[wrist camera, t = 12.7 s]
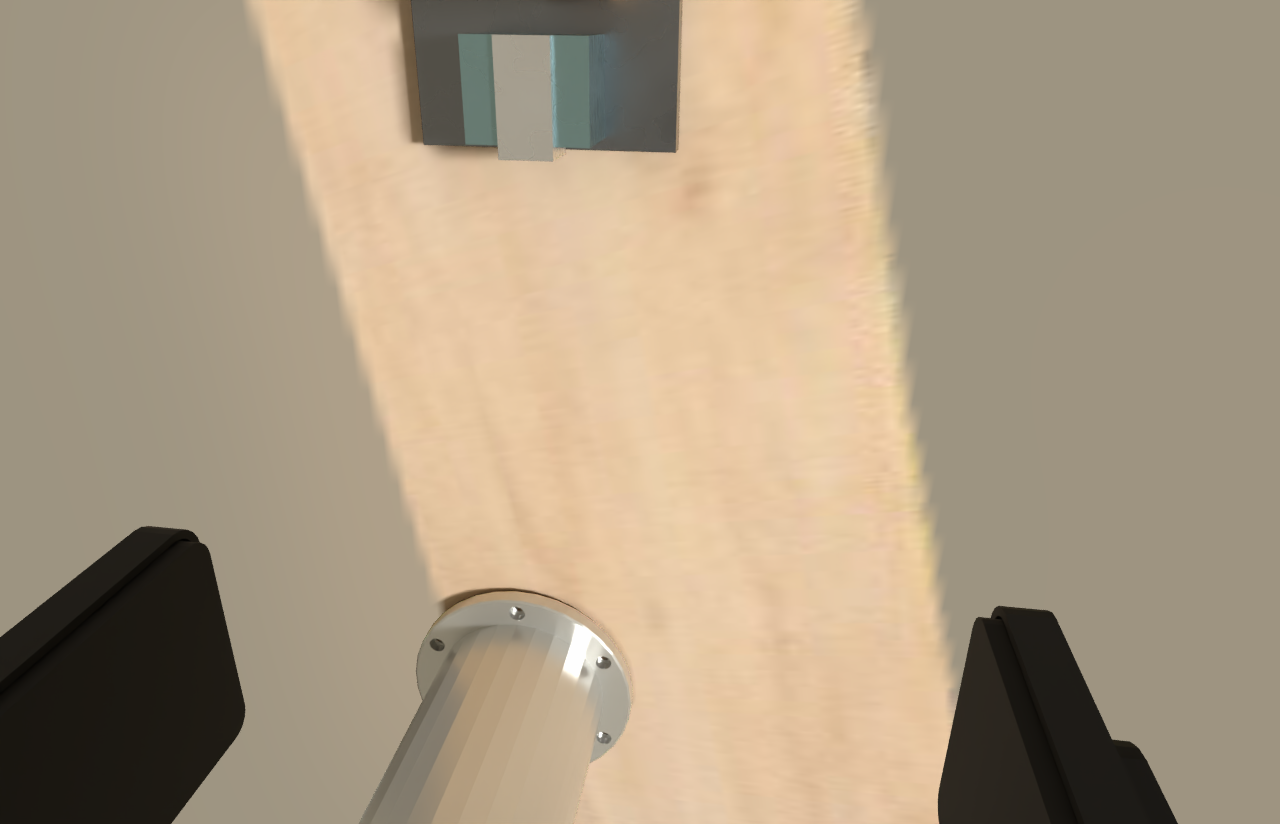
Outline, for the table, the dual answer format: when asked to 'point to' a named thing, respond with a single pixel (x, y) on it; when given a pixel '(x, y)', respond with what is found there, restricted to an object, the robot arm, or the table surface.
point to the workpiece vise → (549, 75)
